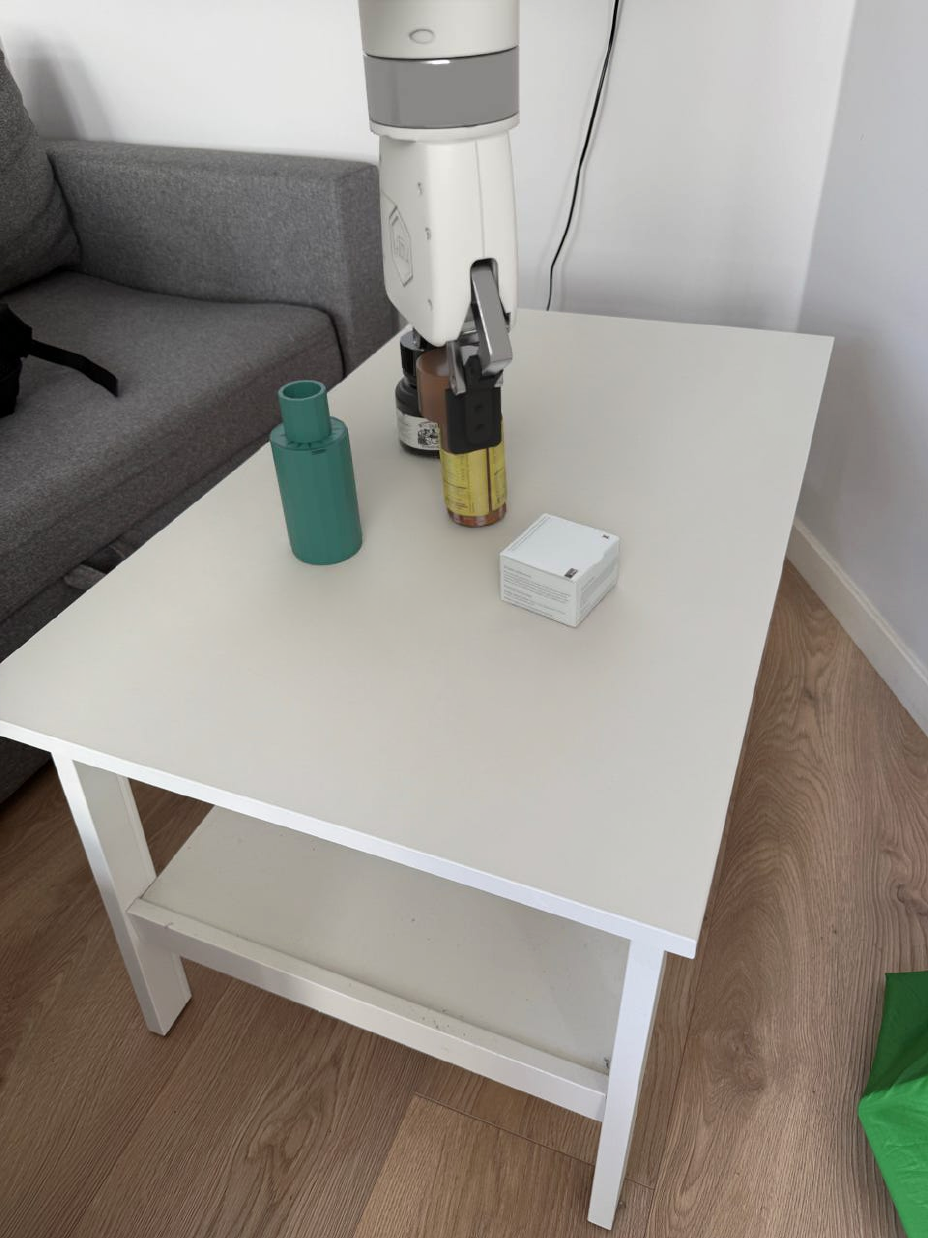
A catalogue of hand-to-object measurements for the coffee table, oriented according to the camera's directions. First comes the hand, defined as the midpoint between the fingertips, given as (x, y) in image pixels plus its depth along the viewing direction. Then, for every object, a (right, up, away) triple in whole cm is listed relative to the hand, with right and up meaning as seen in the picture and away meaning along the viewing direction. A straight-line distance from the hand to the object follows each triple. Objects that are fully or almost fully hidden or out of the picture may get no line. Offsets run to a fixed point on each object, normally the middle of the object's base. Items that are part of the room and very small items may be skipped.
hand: (458, 425), depth 56 cm
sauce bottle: (+1, -2, +35) cm, 35 cm away
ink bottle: (-3, +8, +48) cm, 48 cm away
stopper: (0, -1, +1) cm, 1 cm away
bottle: (-13, -5, +32) cm, 35 cm away
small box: (+9, -10, +25) cm, 28 cm away
